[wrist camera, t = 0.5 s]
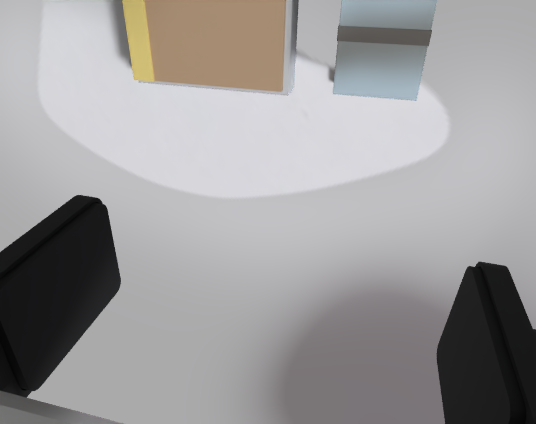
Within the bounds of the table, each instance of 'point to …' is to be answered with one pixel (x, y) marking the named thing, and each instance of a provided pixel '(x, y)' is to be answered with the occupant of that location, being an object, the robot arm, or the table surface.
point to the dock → (214, 43)
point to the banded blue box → (382, 47)
